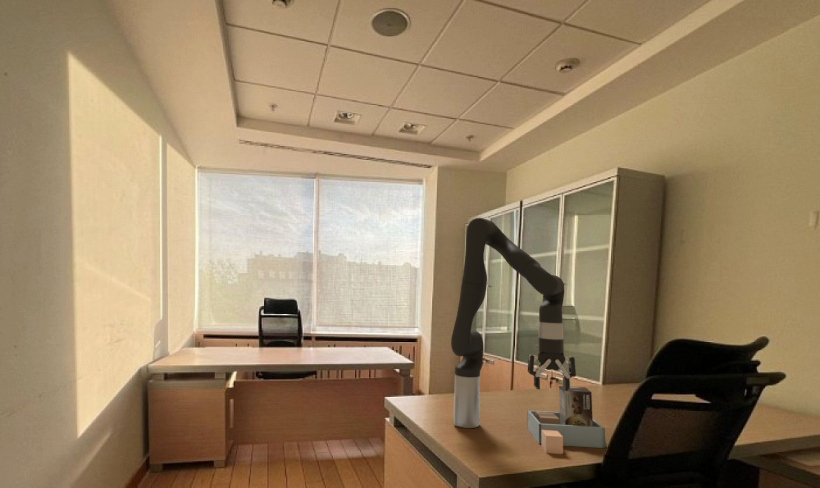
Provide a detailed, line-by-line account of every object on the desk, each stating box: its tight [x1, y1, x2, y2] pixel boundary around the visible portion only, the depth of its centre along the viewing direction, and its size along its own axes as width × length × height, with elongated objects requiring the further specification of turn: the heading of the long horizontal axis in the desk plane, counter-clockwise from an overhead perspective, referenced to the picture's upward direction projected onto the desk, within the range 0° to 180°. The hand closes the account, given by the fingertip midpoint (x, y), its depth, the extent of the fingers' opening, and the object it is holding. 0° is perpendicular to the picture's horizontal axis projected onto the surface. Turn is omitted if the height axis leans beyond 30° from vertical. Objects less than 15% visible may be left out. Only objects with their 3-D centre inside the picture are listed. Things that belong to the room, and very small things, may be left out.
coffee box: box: [558, 385, 594, 427], centre depth 127 cm, size 9×6×16 cm
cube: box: [540, 430, 564, 455], centre depth 115 cm, size 5×5×5 cm
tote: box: [526, 410, 606, 449], centre depth 126 cm, size 21×15×6 cm
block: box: [536, 412, 559, 425], centre depth 127 cm, size 6×6×6 cm
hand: (551, 389), depth 117 cm, fingers open, 8 cm apart
